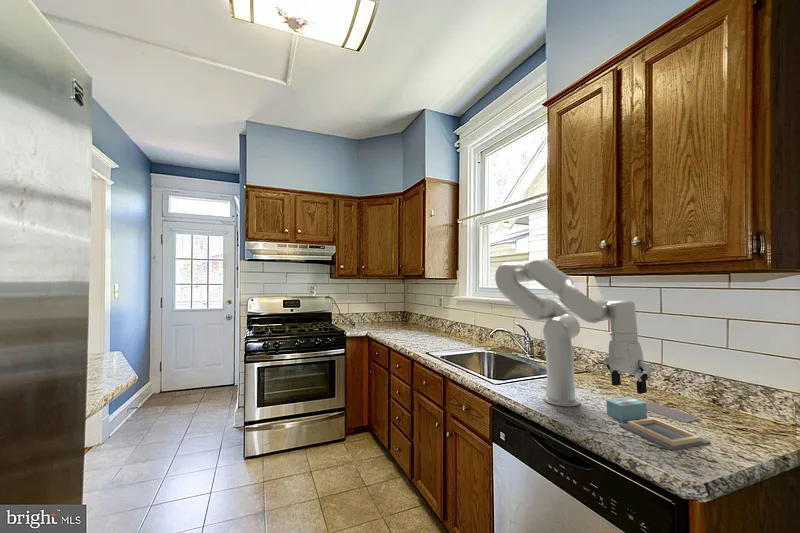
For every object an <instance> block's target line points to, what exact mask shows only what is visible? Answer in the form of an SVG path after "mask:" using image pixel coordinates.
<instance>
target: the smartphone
mask: <svg viewBox="0 0 800 533" xmlns="http://www.w3.org/2000/svg"><path fill="white" fill-rule="evenodd" d="M645 403H646V407H647V412H648V411H649V412H651V413H654V414H658V415H660V416H664V417H667V418H670V419H673V420H676V421H679V422H682V423H686V424H687V423H691V422H695V421H698V420H699V417H698V416H696V415H692V414H689V413H686V412H683V411H679V410H676V409H673V408H670V407H667V406H664V405H662V404H661V405H660V404H658V403H655V402H645Z"/></svg>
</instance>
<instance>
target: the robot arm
mask: <svg viewBox="0 0 800 533" xmlns="http://www.w3.org/2000/svg"><path fill="white" fill-rule="evenodd" d="M494 275H495V276H494V277H495V278H494V279H495V284H496V287H497V288H498V290H499V292H500V293H501V294H502V295H503V296H504V297H505V298H506V299H507V300H509V301H510V302H511V303H512V304H513V305H514V307H516V308H517V309H518V310H519V311H520V312H521V313H522V314H524V315H525V316H526V318H528V319H529V320H530V321H532V322H535V323H541V322H545V323H544V325H543V329H542V330H543V332H542V333H543V339H544V347H545V358H546V362H545V363H546V384H545V385H543V387H542V389H543V390H545V391H546V393H544V394H543V396H542V398H543V400H544V402H546V403H548V404H551V405H554V406H558V407H577V406H579V405H580V404H581V399H580V398H579V397H578V396H576V387H575V386H576V384H575V383H576V382H575V381H576V380H575V359H574V357H575V356H574V348H573V344H572V340H573V339H575V338H576V337H577V336H578V335H579V334H580V332H581V325H580V322H579V321H578V319H577V318H576V317H575V316H577V317H578V318H579V319H580V320H583V321H584V322H587V323H590V324H596V323H600V322H603V321H609V323H610V324H609V326H610V333H609V335H610V336H611V339H610V340H609V343H608V344H609V345H608V357H606V358H604V363H605V365H606V367H607V368H606V369H608V370H609V371H608V372H609V374H610V377H611V386H615V387H616V386H621V384H622V380H621V373H624V374H628V375H634V376H635V378H636V379H637V380H636V381H635V382H636V392H637V394H638V395H642V394H647V393H648V391H647V381H648V380H649V379H650V378H651V376H652V375H651V374H652V373H653V368H651V367H650V366H649V365H648V364H646V363H645V360H644V355H643V350H642V347H641V346H642V345H641V344H640V342H639V338H638V337H639V336H638V326H637V313H636V305H635V302H633V301H632V300H625V299H624V300H605V299H591V298H590V297H588V296H587V295H585V293H583V292H581V291H580V290H579V289H578V288H577V287H576V286H575V284H574V281H573V279H572V278H571V277H570V276H569V275H568V274H566V273H564V272H563V271H561V270H560V269H558V268H557V265H556V263H555V262H554V261H553V260H551V259H549V258H543V257H535V258H533V259H531V260H530V261H524V262H523V261H522V262H510V261H509V262H505V263H502V264H500V265H499V266H498V267H497V269H496V271H495V274H494ZM535 281H536V282H537V283H538V284H539V285H541V286H542V287H544V288H545V289H547V291H550V292H551V293H552V294H554V295H555V296H556V298H557V300H559V301H560V303H561V304H563V306H564V307H565V308H566V309H568V310H566V309H565V308H564V307H563V306H561V305H560V303H558V302H557V301H556V300H553V299H552V298H549V297H547V296H546V297H545V296H542V297H540V296H537V295H536V294H535V293H533V292H532V291H531V290H530V289H529V288H527V286H525V285H523V284H522V283H523V282H524V283H525V282H535ZM569 311H570V312H571V313H570V312H569ZM572 313H573V314H574V315H575V316H574V315H573V314H572Z"/></svg>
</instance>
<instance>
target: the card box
mask: <svg viewBox="0 0 800 533" xmlns="http://www.w3.org/2000/svg"><path fill="white" fill-rule="evenodd" d="M605 403H606V415H608V416H610V417H612V418H614V419H616V420H619V421H621V422H625V421H626V422H628V421H634V420H641V419H647V417H648V410H647V407H646V403H647V402H645V401H642V400H640V399H638V398H637V399H636V398H635V397H632V396H627V397H619V398H611V399H606V402H605Z"/></svg>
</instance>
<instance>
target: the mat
mask: <svg viewBox="0 0 800 533" xmlns="http://www.w3.org/2000/svg"><path fill="white" fill-rule="evenodd" d="M619 426H620V427H621V428H623V429H625V430H627V431H629V432H631V433H633V434H635V435H637V436H639V437H641V438H643V439H646V440H648V441H650V442H652V443H654V444H655V445H657V446H661V447H662V448H664V449H666V450H668V451H669V452H670V451H671V452H673V451H679V450H684V449H689V448H695V447H699V446H700V447H701V446H706V445H711V444H712V443H711V441H709V440H707V439H705V438H703V437H702V436H699V435H697V434H695V433H693V432H690V431H687V430H685V429H683V428H680V427H677V426H675V425H673V424H670V423H668V422H665V421H663V420H660V419H658V418H656V417H649V418H641V419H634V420H627V423H624V424H623V423H622V424H619Z"/></svg>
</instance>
